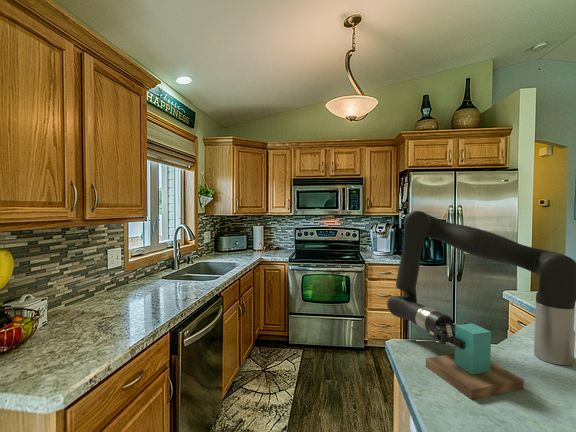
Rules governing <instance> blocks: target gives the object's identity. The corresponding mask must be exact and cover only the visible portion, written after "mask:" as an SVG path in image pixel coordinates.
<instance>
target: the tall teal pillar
mask: <svg viewBox="0 0 576 432" xmlns="http://www.w3.org/2000/svg"><path fill="white" fill-rule="evenodd" d="M455 337H457V338H459V339H461V340H463V341H465V349H460V348H459V347H457V346H455V345H454V354H455V359H454V364H456V365H458V366H459V367H461V368H462V369H464V370H465V371H467V372H469V373H470V374H472V375H474V374H479V373H485V372H490V361H491V354H492V353H491V348H492V331H490V330H488V329H486V328H484V327H482V326H479V325H477V324H475V323H473V322H472V323H467V324H464V323H463V324H459V325H455Z"/></svg>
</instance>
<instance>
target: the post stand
mask: <svg viewBox="0 0 576 432" xmlns="http://www.w3.org/2000/svg"><path fill="white" fill-rule="evenodd" d="M454 359H455V353H451V354H445V355H444V354H443V355H438V356H432V357H426V358H425V368H427V369H428V370H429V371H431V372H432V373H434V375H435V374H436V375H437V376H438V377H440V378H441V379H442V380H443V381H444V382H446V383H447V384H449V385H450V386H452V387H453V388H455V389H456V390H457V391H458V392H460V393H461V394H463V395H464V396H465V395H466V396H465V397H467V398H468V397H469V398H468V399H469V400H477V399H480V398H487V397H491V396H496V395H500V394H505V393H506V394H507V393H510V392H514V391H519V390H524V381H525V379H524V378H521V377H520V376H518V375H516V374H514V373H512V372H511V371H509V370H507V369H506V368H504V367H502V366H500V365H498V364H496V363H494V362H492V361H491V360H490V372H485V373H479V374H474V375H472V374H470V373H469V372H467V371H465V370H464V369H462V368H461V367H459V366H458V365H456V364H454ZM476 398H477V399H476Z"/></svg>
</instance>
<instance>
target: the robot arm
mask: <svg viewBox="0 0 576 432" xmlns="http://www.w3.org/2000/svg"><path fill="white" fill-rule="evenodd" d="M403 227H404V229H403V246H402V253H401V257H400V261H399V266H398V270H397V275H396V281H395V282H396V283H395V287H396V288H397V289H398V290H400V291H402V292H403V295H392V296H391V297H389V298H388V299H387V301H386V306H387V310H388V311H389V312H390V314H391V315H393V316H394V317H398V318H400V319H402V320H405V321H409V322H411V323H413V324H414V325H417V326H418V327H419V328H421V329H422V330H423V331H425V332H427V333H429V337H431V338H432V339H434V340H436V341H437V342H439V343H441V344H442V345H446V343H447V344H448V345H453V346H454V347H455V346H457V347H459V348H460V349H465V341H463V340H461V339H459V338H457V337H455V325H460V324H458V323H455V322H454V320H453V319H452V318H451V316H449V315H448V314H445V313H443V312H440V311H438V310H436V309H434V308H431V307H428V306H426V305H424V304H421V303H419V302H418V298H417V283H418V279H419V272H420V263H421V256H422V255H421V254H422V250H423V249H422V248H423V247H424V246H423V245H424V242H425V239H426V238H429V239H433V240H437V241H440V242H442V243H445V244H447V245H448V246H451V247H453V248H454V249H457V250H459V251H462V252H463V253H466V254H469V255H471V256H474V257H478V258H479V259H484V260H488V261H492V262H497V263H503V264H508V265H512V266H516V267H519V268H521V269H523V270H527V271H529V272H531V273H533V274H536V275H538V276H539V283H538V285H539V287H538V290H537V292H536V293H535V310H534V311H535V312H534V313H535V314H534V315H535V316H534V317H535V318H534V337H533V339H534V342H533V355H534V356H535V357H536V358H538V359H540V360H542V361H544V362H546V363H550V364H554V365H558V366H571V365H572V364H573V363H574V362H573V361H575V348H576V347H575V342H576V331H575V311H576V308H575V307H576V261H575V260H574V259H573V258H572V257H569V256H567V255H565V254H563V253H560V252H556V251H552V250H551V251H550V250H546V249H541V248H537V247H536V248H535V247H532V246H528V245H524V244H522V243H519V242H516V241H513V240H512V239H509V238H507V237H504V236H502V235H500V234H496V233H494V232H492V231H491V232H490V231H487V230H483V229H480V228H477V227H472V226H468V225H464V224H458V223H453V222H449V221H445V220H442V219H440V218H437V217H434V216H433V215H430V214H428V213H426V212H424V211H421V210H413V211H411V212H409V213H408V214H406V216H405V217H404V219H403ZM463 324H468V323H467V322H464V323H463Z"/></svg>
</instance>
